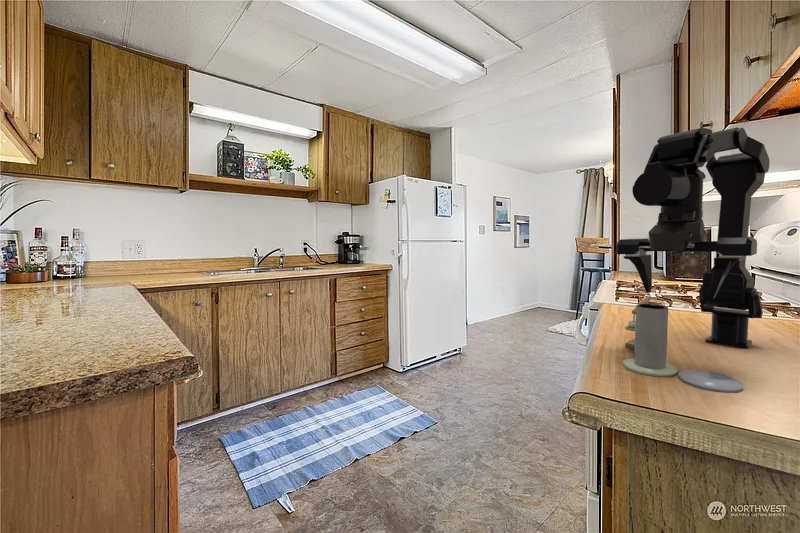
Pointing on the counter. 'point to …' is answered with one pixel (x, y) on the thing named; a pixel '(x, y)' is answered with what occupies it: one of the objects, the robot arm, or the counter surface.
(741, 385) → the dish grey
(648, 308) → the planter
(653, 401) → the counter surface
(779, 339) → the counter surface
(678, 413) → the counter surface
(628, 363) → the dish green
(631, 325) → the balance
